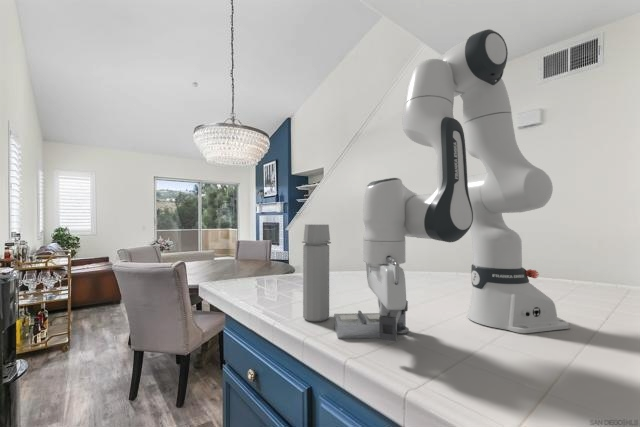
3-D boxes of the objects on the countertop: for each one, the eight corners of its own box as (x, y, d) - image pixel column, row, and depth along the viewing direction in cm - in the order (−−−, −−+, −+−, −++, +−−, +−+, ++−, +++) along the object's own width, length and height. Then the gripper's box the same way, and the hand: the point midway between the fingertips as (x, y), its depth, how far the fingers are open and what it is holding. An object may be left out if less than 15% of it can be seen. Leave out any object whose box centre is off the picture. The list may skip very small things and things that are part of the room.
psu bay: (386, 325, 75) (386, 309, 75) (395, 337, 67) (395, 320, 67) (334, 325, 74) (334, 310, 74) (337, 338, 66) (337, 321, 66)
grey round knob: (405, 327, 73) (405, 308, 73) (411, 334, 69) (411, 314, 69) (387, 327, 73) (387, 309, 73) (392, 334, 69) (392, 314, 69)
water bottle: (328, 323, 76) (328, 224, 76) (298, 321, 77) (298, 224, 78) (333, 313, 85) (333, 224, 85) (306, 311, 86) (307, 224, 87)
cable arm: (391, 310, 74) (391, 294, 74) (408, 312, 72) (408, 295, 72) (376, 338, 56) (376, 316, 56) (398, 341, 55) (398, 319, 55)
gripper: (414, 259, 54) (415, 337, 54) (387, 249, 74) (387, 305, 74) (379, 260, 54) (380, 338, 53) (362, 249, 74) (362, 305, 74)
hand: (384, 319), depth 64 cm, fingers closed
